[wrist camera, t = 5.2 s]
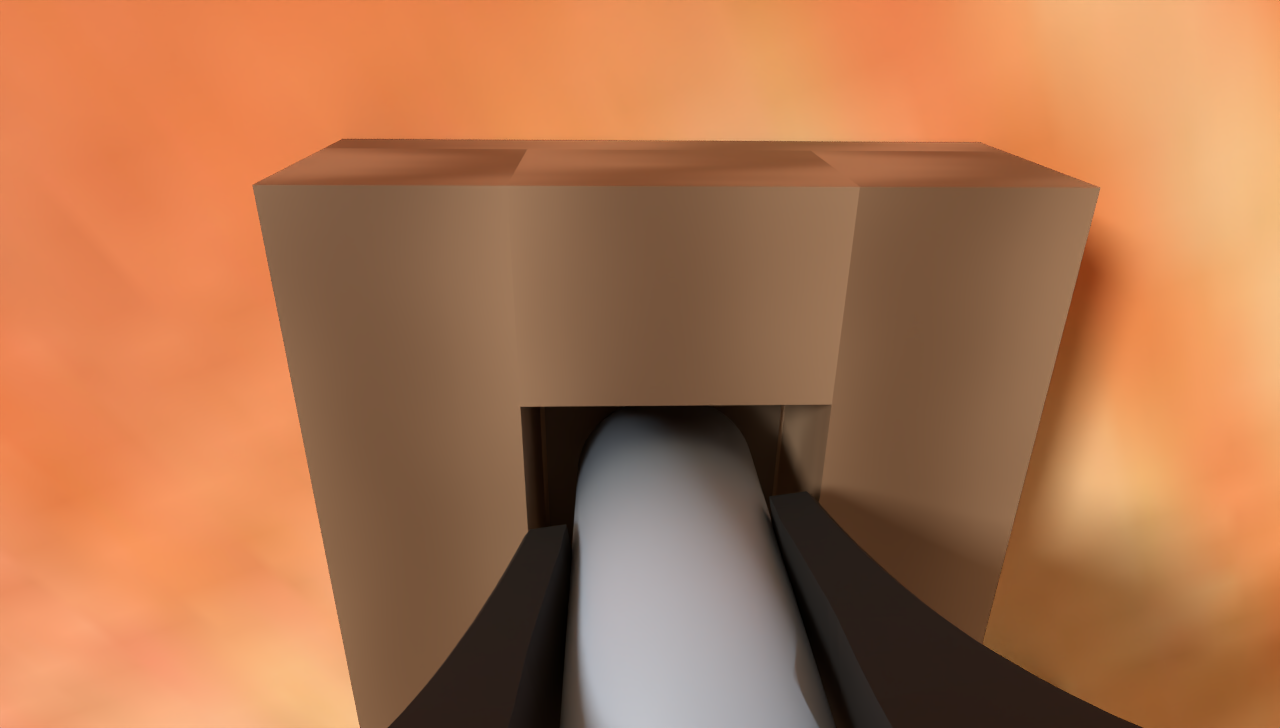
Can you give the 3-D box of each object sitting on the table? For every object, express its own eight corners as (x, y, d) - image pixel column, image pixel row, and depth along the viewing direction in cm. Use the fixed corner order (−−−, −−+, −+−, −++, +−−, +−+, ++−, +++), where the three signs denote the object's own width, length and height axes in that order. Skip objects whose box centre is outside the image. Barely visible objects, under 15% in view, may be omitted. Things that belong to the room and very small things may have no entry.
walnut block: (980, 142, 15) (1100, 188, 11) (888, 624, 20) (951, 763, 16) (342, 139, 14) (252, 184, 11) (414, 632, 19) (370, 777, 16)
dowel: (750, 388, 14) (893, 781, 7) (753, 537, 16) (874, 989, 9) (567, 405, 14) (524, 813, 7) (587, 551, 16) (568, 1016, 9)
